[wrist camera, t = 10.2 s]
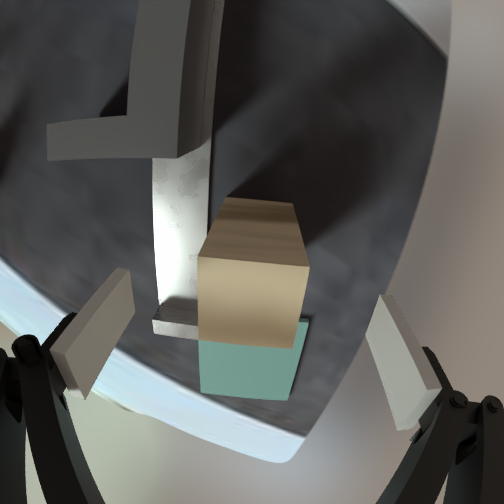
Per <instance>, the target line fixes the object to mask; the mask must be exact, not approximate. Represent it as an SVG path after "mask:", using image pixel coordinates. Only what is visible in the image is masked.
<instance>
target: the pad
mask: <svg viewBox="0 0 504 504" xmlns="http://www.w3.org/2000/svg"><path fill="white" fill-rule="evenodd" d="M308 324H309V321H308V319H305V318H299V322H298V326H297V331H296V335H295V339H294V344H293V348H292V349H286V348H272V347H259V346H248V345H238V344H228V343H219V342H211V341H203V340H198V341H199V365H200V384H201V393H209V394H216V395H225V396H234V397H244V398H256V399H270V400H288V397H289V394H290V390H291V387H292V383H293V380H294V376H295V373H296V369H297V366H298V362H299V359H300V355H301V351H302V347H303V344H304V340H305V336H306V332H307V328H308Z"/></svg>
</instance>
